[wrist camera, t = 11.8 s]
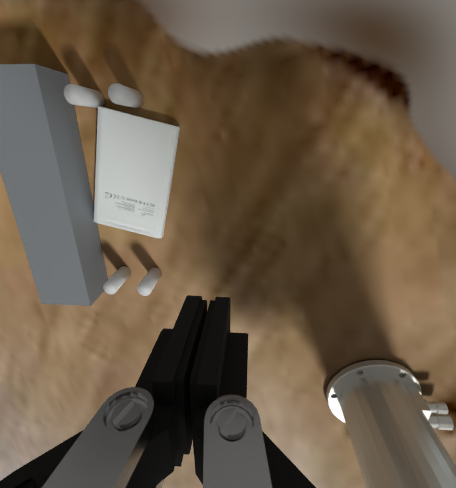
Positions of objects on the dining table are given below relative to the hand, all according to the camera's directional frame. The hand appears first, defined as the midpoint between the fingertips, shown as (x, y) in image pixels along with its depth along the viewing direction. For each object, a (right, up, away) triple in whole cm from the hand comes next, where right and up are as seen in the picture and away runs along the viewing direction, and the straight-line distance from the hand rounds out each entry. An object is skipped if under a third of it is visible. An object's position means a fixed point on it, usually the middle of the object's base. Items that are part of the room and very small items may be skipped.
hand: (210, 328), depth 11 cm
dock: (-14, +9, +21) cm, 27 cm away
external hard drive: (-10, +11, +20) cm, 25 cm away
